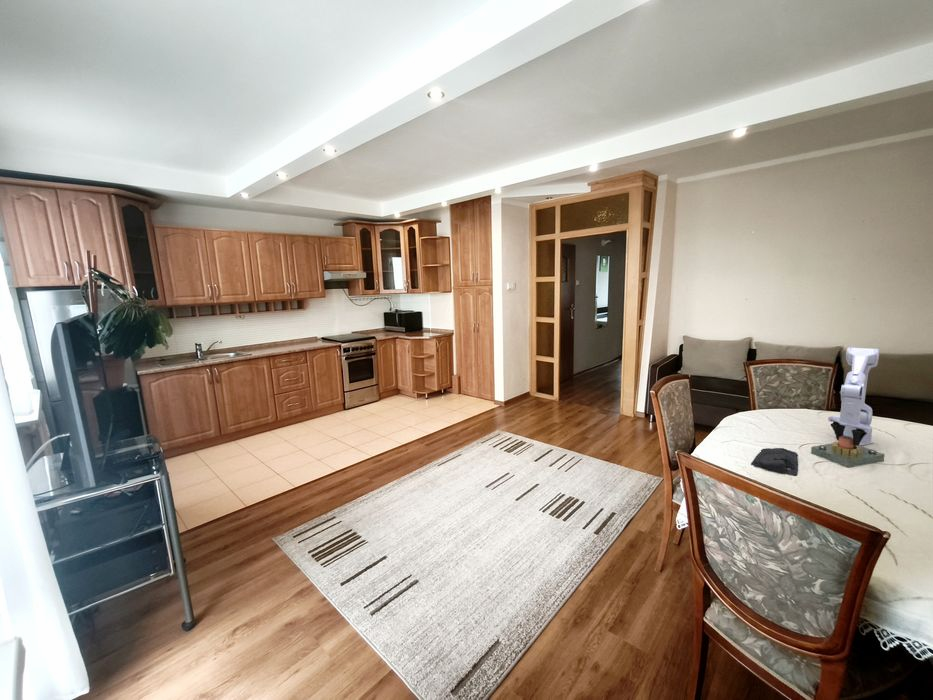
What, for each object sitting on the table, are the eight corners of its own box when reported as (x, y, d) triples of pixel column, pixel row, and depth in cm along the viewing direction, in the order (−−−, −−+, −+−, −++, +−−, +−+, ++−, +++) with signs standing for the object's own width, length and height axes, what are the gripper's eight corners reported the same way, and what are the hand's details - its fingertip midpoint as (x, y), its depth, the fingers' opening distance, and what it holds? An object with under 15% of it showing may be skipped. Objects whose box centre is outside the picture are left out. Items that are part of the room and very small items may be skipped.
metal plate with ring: (844, 447, 167) (845, 436, 166) (883, 461, 153) (885, 449, 152) (811, 453, 164) (811, 442, 163) (847, 467, 151) (848, 456, 150)
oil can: (844, 450, 161) (845, 432, 160) (856, 454, 157) (856, 436, 155) (835, 452, 160) (836, 434, 159) (846, 456, 156) (847, 437, 155)
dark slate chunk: (804, 458, 161) (805, 448, 160) (796, 478, 147) (797, 467, 146) (760, 449, 172) (761, 439, 171) (748, 467, 158) (749, 456, 157)
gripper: (823, 408, 162) (821, 437, 164) (863, 419, 148) (860, 450, 150) (836, 406, 163) (834, 435, 165) (877, 416, 149) (874, 448, 151)
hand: (847, 442), depth 158 cm, fingers open, 5 cm apart
